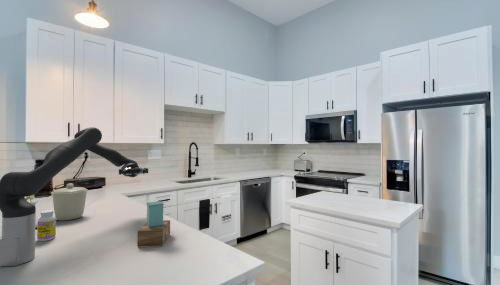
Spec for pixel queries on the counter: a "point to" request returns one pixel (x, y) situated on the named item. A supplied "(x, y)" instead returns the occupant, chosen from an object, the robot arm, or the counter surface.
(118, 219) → the counter surface
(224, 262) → the counter surface
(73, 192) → the canister
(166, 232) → the wooden crate
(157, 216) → the teal lidded bin
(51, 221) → the supplement bottle
